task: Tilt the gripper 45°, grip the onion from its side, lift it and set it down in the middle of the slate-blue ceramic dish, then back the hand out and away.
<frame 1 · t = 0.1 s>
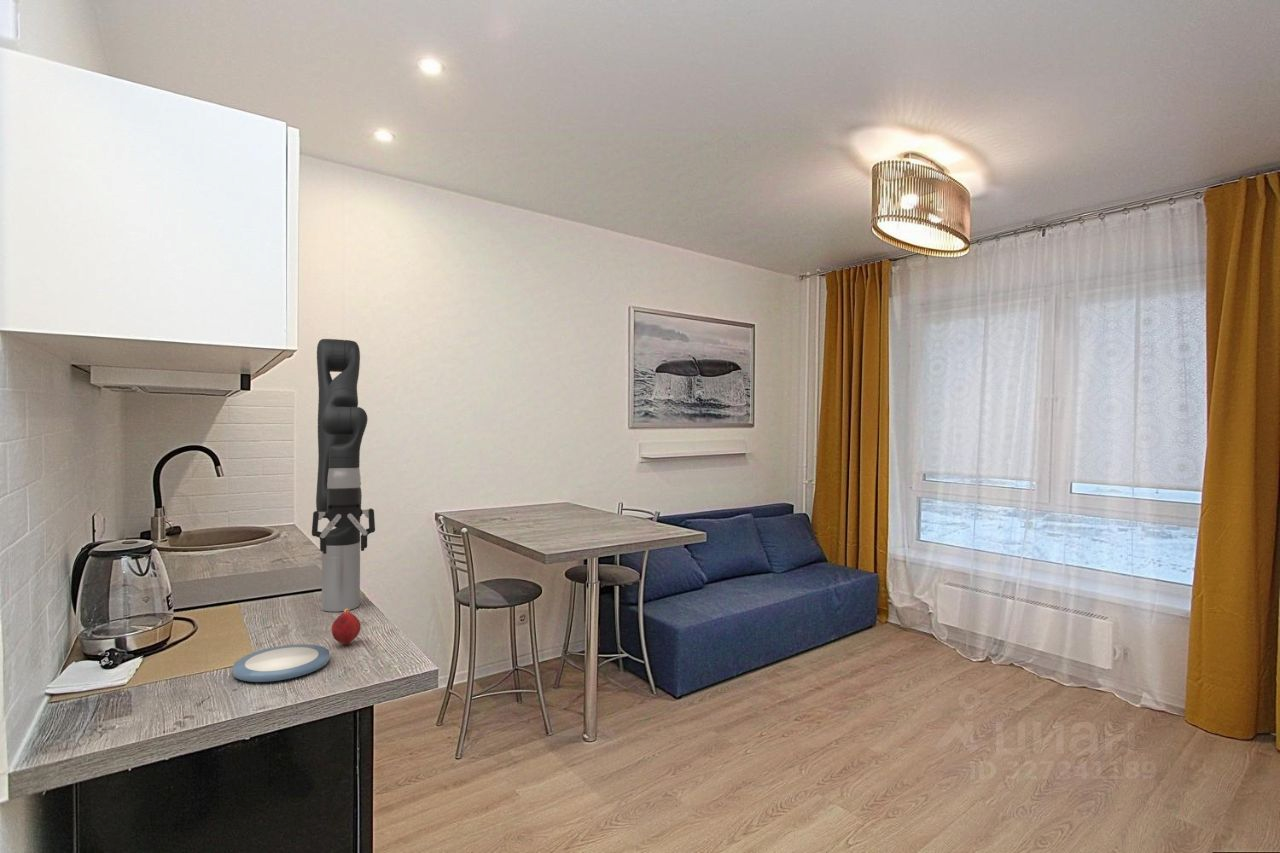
hand: (343, 551, 160), 17 cm above the counter, tool pointing down, fingers open, 8 cm apart
onion: (345, 645, 144), on the counter
dish: (282, 667, 130), on the counter
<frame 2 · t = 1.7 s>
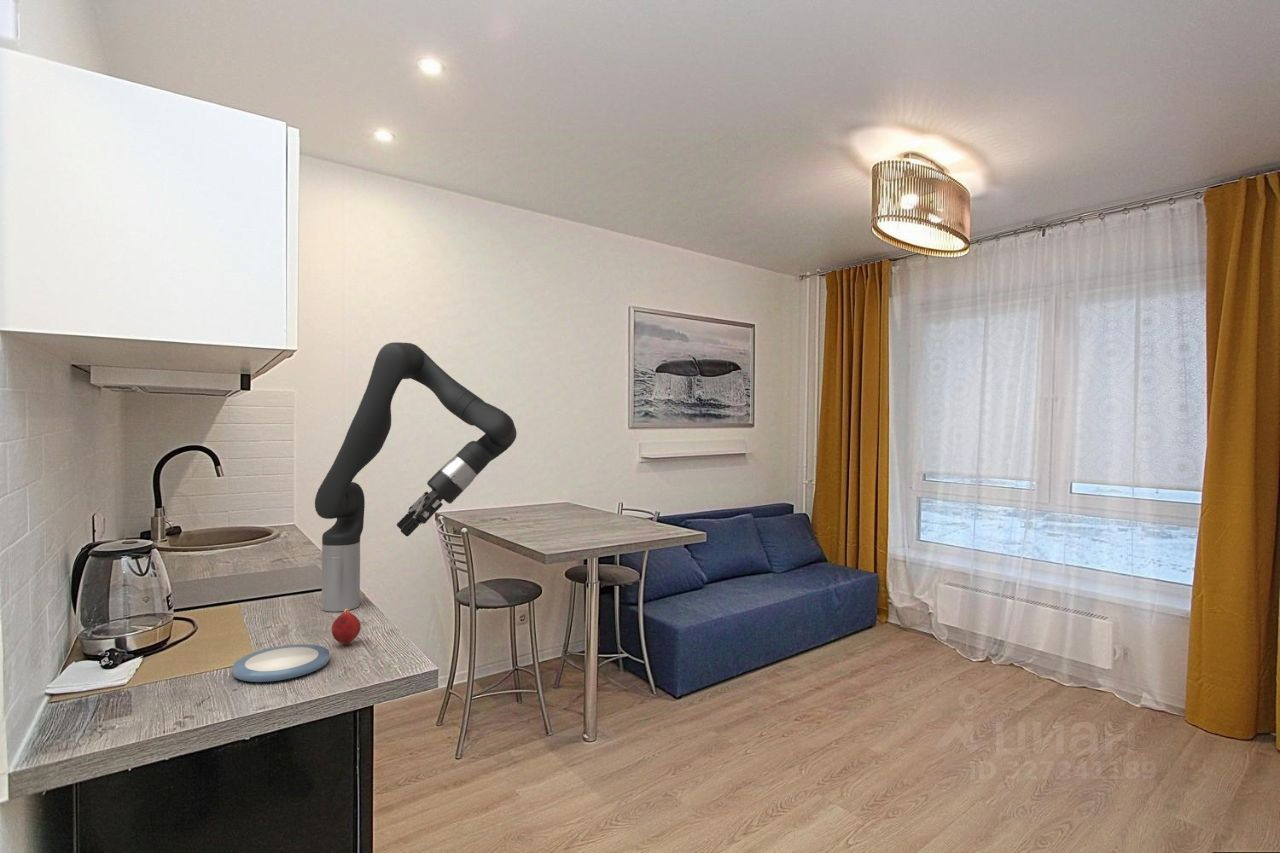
hand: (401, 530, 149), 25 cm above the counter, tool tilted 45°, fingers open, 8 cm apart
nothing on the counter moved.
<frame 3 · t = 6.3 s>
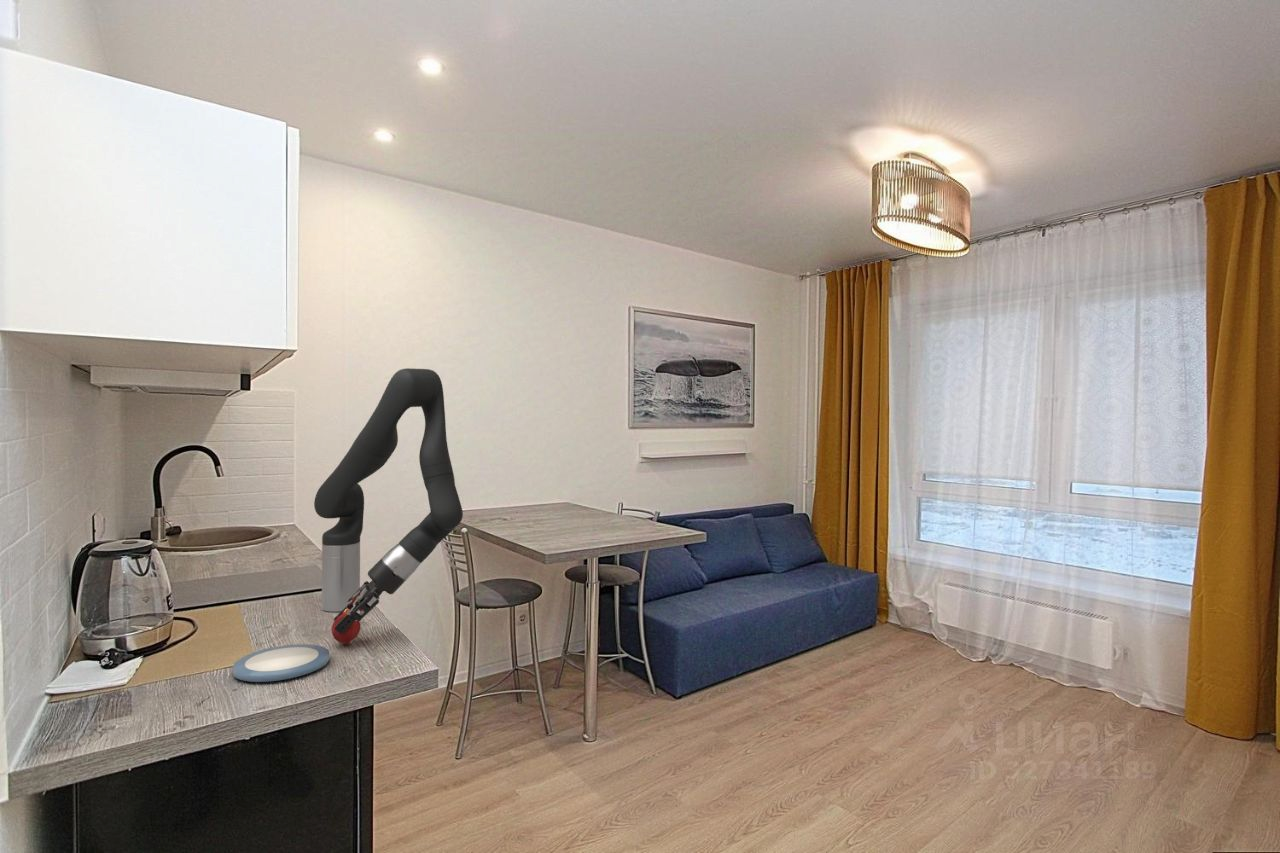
hand: (337, 626, 143), 4 cm above the counter, tool tilted 45°, fingers closed on onion, 5 cm apart
onion: (345, 645, 144), on the counter, touching gripper
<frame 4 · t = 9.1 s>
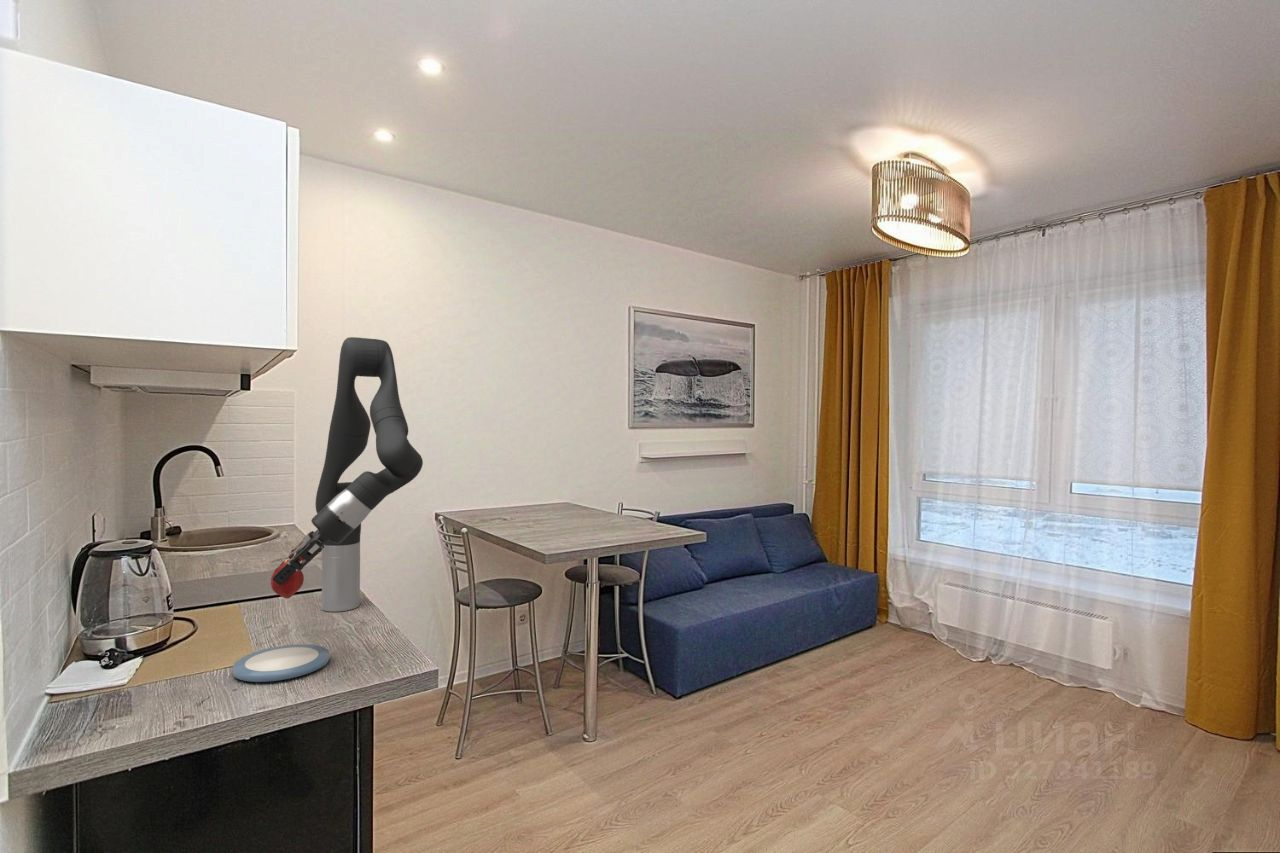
hand: (277, 578, 130), 18 cm above the counter, tool tilted 45°, fingers closed on onion, 5 cm apart
onion: (287, 599, 131), point 14 cm above the counter, touching gripper
when the fingers open (7 cm above the counter, at t = 12.1 s): onion drops 1 cm, resting on dish.
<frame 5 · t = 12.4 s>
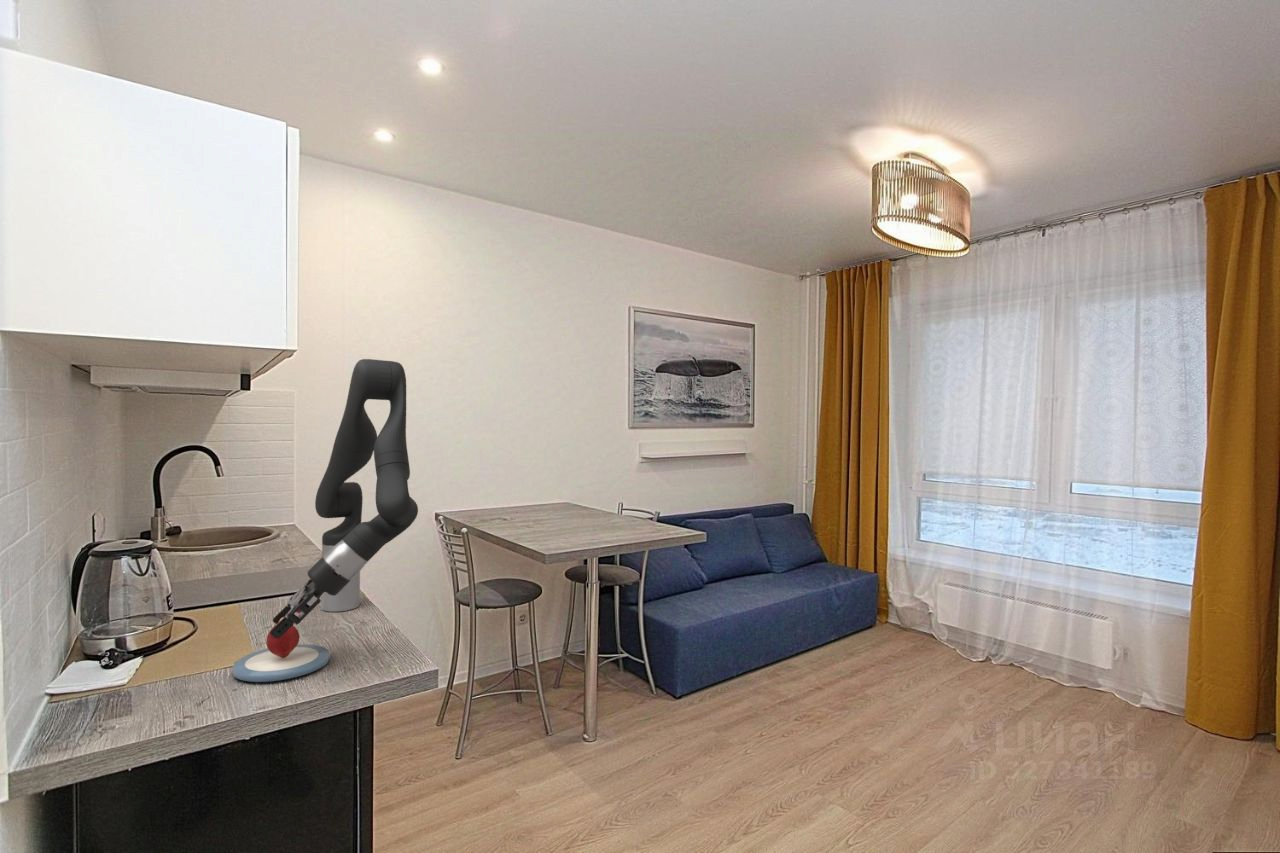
hand: (274, 629, 130), 8 cm above the counter, tool tilted 45°, fingers open, 8 cm apart
onion: (283, 658, 130), point 2 cm above the counter, touching dish
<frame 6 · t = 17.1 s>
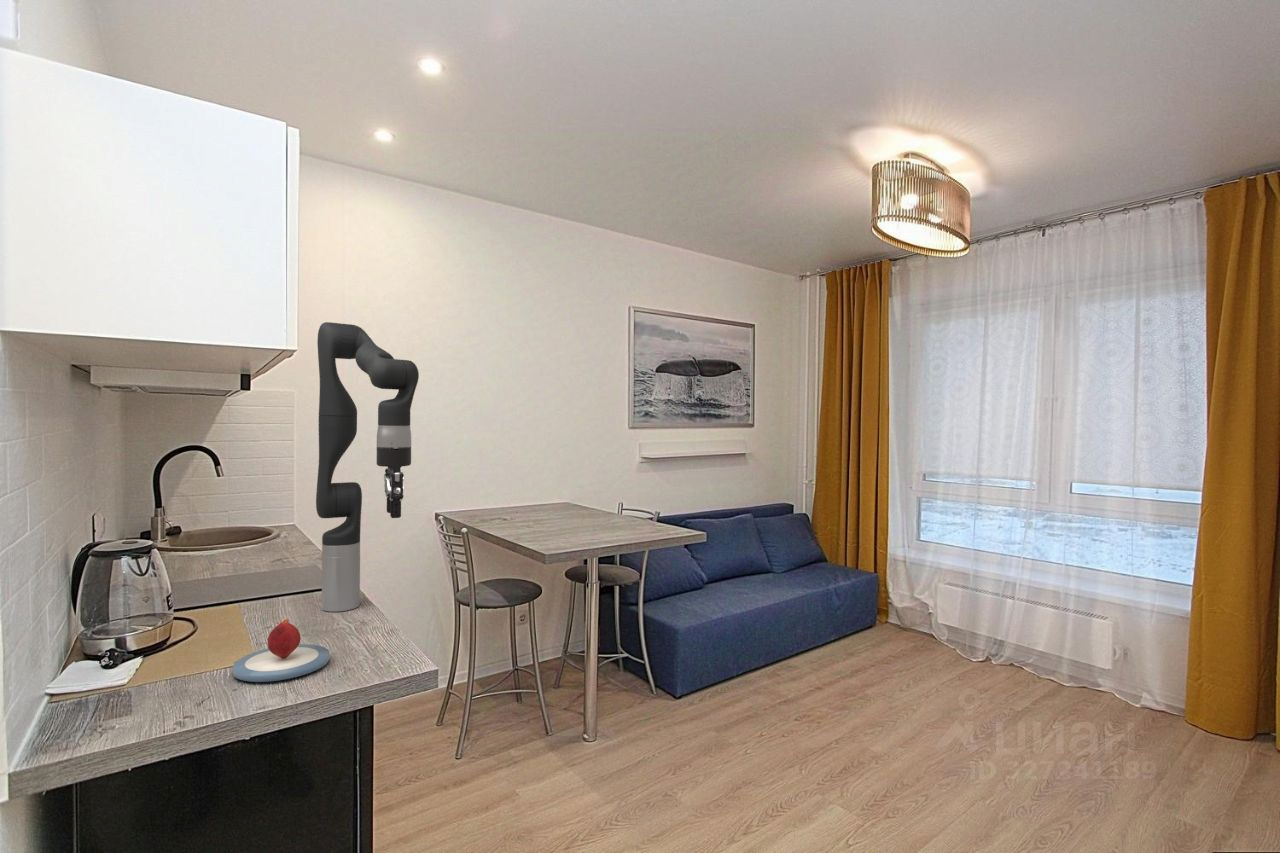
hand: (393, 515, 150), 28 cm above the counter, tool pointing down, fingers open, 8 cm apart
nothing on the counter moved.
at the end: onion inside the target area on the dish (0.2 cm from its centre), point 1.7 cm above the dish's base; the gripper is holding nothing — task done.
